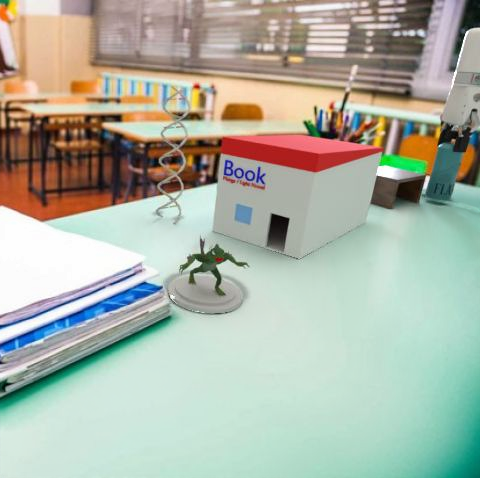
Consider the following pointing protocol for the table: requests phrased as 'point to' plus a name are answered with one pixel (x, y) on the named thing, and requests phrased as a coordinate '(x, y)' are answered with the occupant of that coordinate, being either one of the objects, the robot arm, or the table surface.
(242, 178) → the bookstore
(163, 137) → the dna model
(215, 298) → the monster figurine
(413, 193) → the shelf
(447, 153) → the beverage bottle
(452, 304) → the table surface
